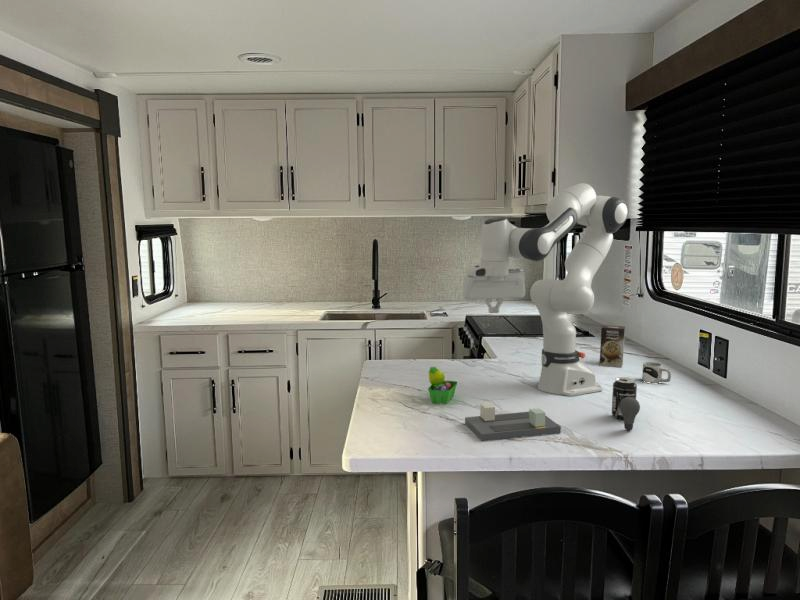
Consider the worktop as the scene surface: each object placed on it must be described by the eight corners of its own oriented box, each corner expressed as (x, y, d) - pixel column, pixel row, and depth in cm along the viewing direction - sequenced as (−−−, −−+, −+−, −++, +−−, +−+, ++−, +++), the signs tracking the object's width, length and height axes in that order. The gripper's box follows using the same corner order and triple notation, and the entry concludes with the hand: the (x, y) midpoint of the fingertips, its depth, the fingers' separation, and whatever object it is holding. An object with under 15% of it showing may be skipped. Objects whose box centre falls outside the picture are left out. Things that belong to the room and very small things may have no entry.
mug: (639, 381, 220) (640, 364, 219) (646, 377, 225) (647, 360, 224) (667, 387, 214) (668, 369, 213) (673, 383, 219) (674, 365, 218)
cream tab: (489, 415, 179) (489, 402, 178) (494, 420, 175) (495, 407, 174) (480, 416, 178) (480, 403, 178) (485, 421, 174) (485, 408, 174)
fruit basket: (449, 406, 195) (449, 372, 193) (423, 403, 198) (423, 370, 196) (458, 395, 205) (458, 364, 204) (433, 393, 208) (433, 362, 207)
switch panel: (538, 416, 184) (538, 410, 184) (560, 433, 170) (560, 426, 170) (465, 423, 178) (465, 417, 178) (482, 441, 165) (482, 433, 165)
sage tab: (538, 421, 174) (539, 408, 173) (544, 426, 170) (545, 412, 169) (529, 422, 173) (529, 409, 173) (535, 426, 169) (535, 413, 169)
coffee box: (599, 365, 243) (600, 327, 240) (600, 362, 249) (601, 324, 246) (622, 367, 239) (624, 328, 237) (623, 364, 245) (625, 325, 243)
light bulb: (640, 434, 169) (642, 400, 167) (620, 433, 170) (621, 399, 168) (636, 427, 174) (638, 394, 173) (616, 426, 175) (618, 393, 174)
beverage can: (616, 412, 188) (617, 375, 186) (638, 416, 183) (640, 379, 182) (608, 418, 182) (609, 380, 181) (630, 423, 178) (632, 384, 176)
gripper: (520, 267, 193) (519, 309, 195) (461, 269, 188) (460, 312, 190) (529, 269, 187) (528, 312, 189) (467, 271, 182) (467, 315, 184)
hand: (493, 312), depth 189 cm, fingers closed
